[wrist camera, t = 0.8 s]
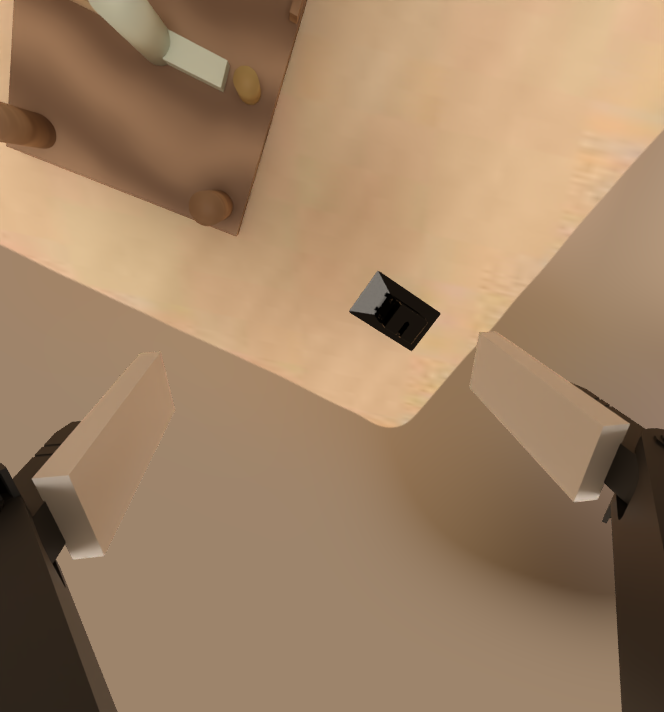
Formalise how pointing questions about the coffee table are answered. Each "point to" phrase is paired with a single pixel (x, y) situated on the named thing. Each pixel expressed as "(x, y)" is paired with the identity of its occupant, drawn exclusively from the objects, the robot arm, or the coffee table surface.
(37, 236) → the coffee table surface
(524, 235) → the coffee table surface
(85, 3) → the maple block
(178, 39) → the gate leg
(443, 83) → the coffee table surface
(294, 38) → the stool board
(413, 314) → the black bracket plate
